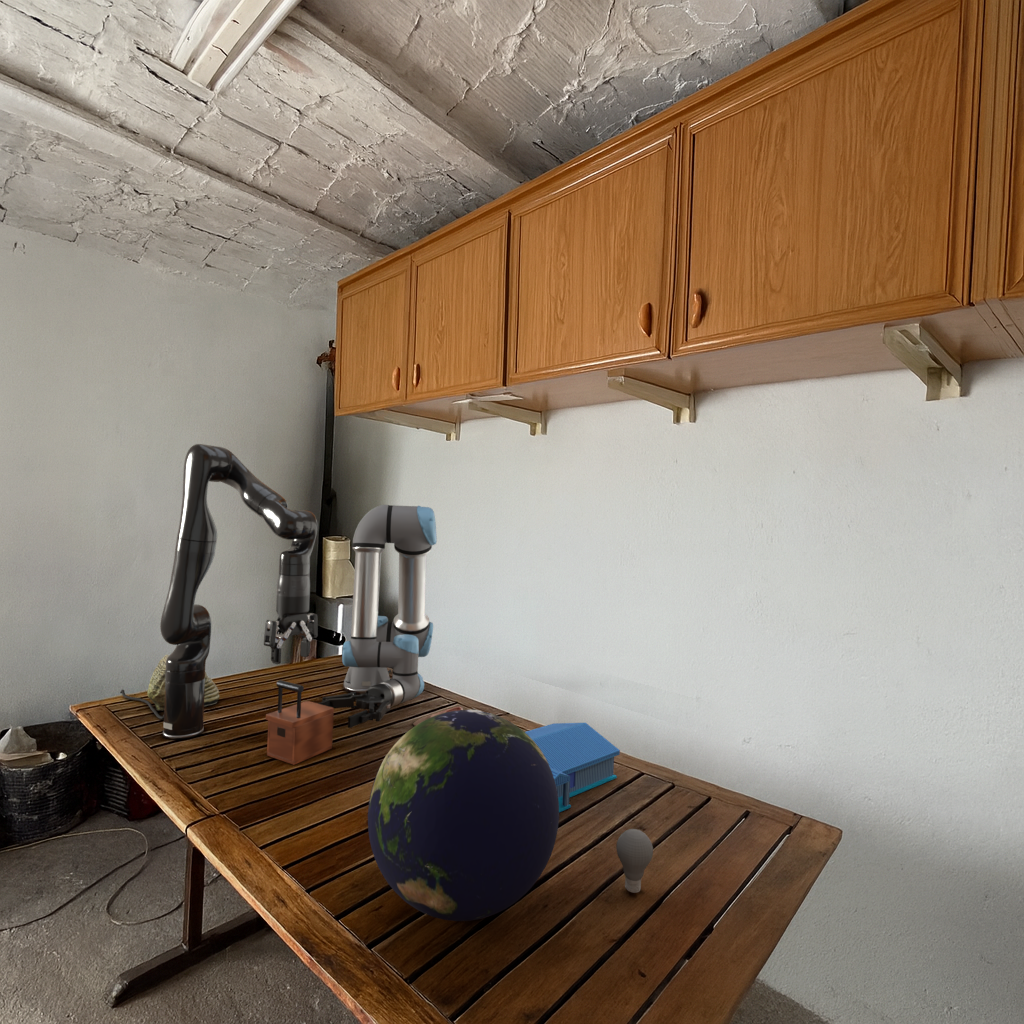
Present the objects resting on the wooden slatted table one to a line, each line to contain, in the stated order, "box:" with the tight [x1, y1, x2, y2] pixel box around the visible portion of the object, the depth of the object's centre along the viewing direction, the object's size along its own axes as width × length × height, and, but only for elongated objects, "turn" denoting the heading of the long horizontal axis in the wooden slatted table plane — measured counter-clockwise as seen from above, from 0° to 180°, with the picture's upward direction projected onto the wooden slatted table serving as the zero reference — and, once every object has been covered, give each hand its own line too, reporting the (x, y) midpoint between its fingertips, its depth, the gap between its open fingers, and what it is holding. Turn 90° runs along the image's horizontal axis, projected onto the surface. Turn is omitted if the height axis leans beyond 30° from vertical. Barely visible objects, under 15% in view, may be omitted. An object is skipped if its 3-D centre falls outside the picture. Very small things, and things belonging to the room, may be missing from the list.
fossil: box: [147, 654, 221, 712], centre depth 185 cm, size 9×18×15 cm, turn 132°
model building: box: [524, 722, 621, 813], centre depth 143 cm, size 39×24×10 cm, turn 132°
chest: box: [266, 713, 335, 766], centre depth 156 cm, size 12×9×9 cm
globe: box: [367, 709, 560, 922], centre depth 100 cm, size 30×30×30 cm
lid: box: [265, 679, 335, 728], centre depth 156 cm, size 13×9×9 cm
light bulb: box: [615, 828, 654, 894], centre depth 106 cm, size 6×6×10 cm
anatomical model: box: [412, 706, 464, 727], centre depth 179 cm, size 13×4×12 cm
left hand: (290, 659), depth 152 cm, fingers open, 8 cm apart
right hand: (329, 717), depth 163 cm, fingers open, 13 cm apart
